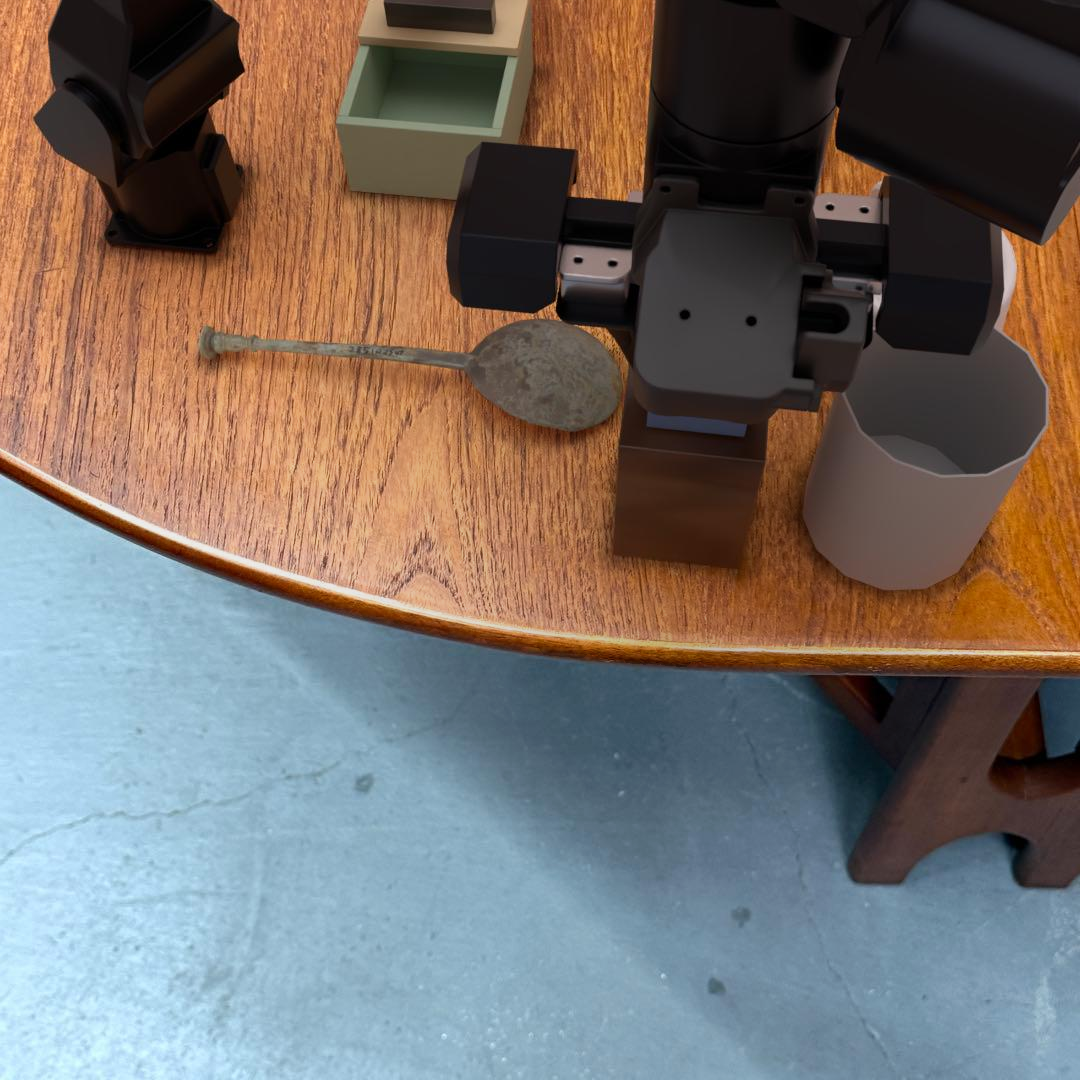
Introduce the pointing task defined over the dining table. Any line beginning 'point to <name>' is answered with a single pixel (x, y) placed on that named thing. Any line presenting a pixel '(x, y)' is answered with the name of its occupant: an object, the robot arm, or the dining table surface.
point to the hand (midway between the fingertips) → (699, 384)
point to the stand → (684, 490)
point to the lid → (446, 25)
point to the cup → (921, 459)
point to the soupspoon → (493, 368)
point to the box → (428, 114)
